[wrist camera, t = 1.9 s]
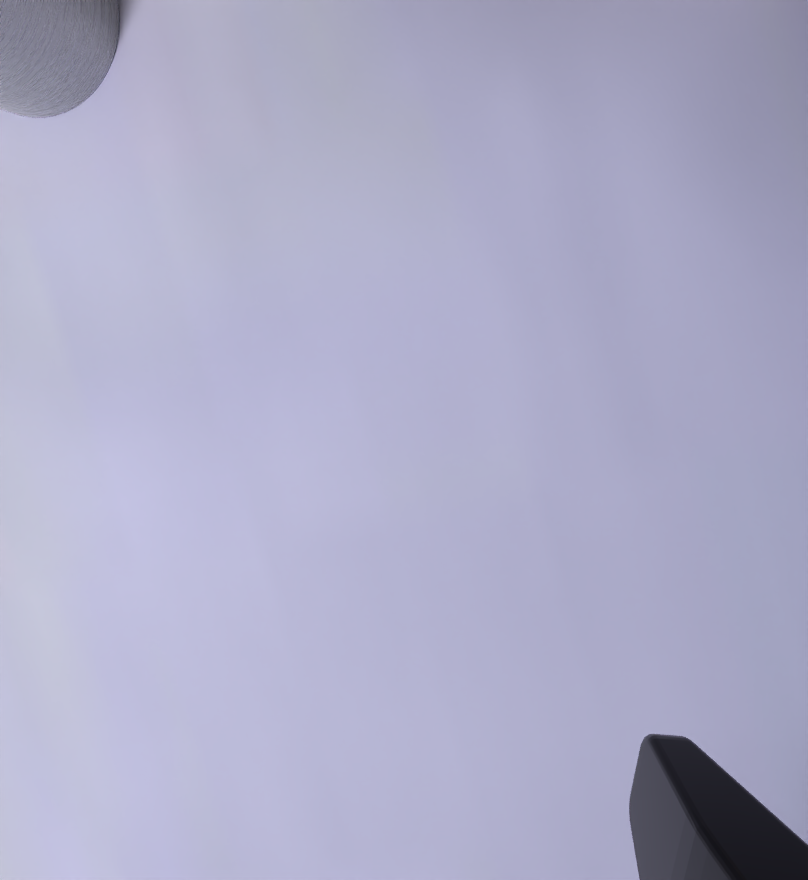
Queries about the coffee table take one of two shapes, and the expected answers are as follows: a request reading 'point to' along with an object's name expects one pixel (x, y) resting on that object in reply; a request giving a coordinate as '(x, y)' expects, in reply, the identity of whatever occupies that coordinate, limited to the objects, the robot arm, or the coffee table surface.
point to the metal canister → (54, 53)
